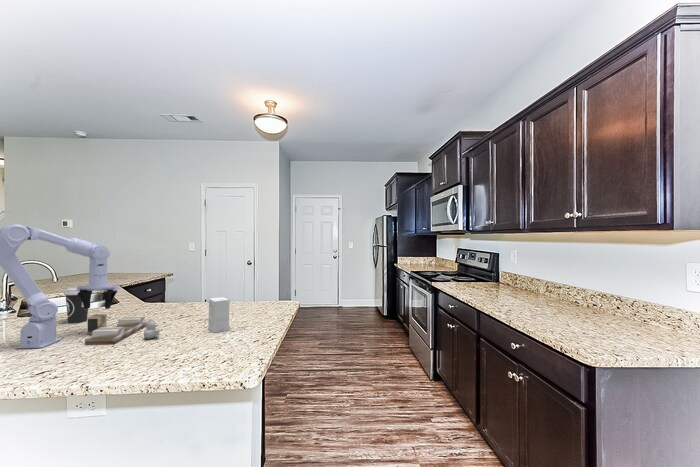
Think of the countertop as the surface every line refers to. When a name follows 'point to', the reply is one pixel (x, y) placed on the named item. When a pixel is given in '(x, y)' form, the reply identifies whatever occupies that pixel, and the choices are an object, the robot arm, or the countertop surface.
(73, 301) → the coffee cup
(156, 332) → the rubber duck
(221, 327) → the small box
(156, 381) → the countertop surface
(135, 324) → the rail board
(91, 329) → the block
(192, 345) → the countertop surface
